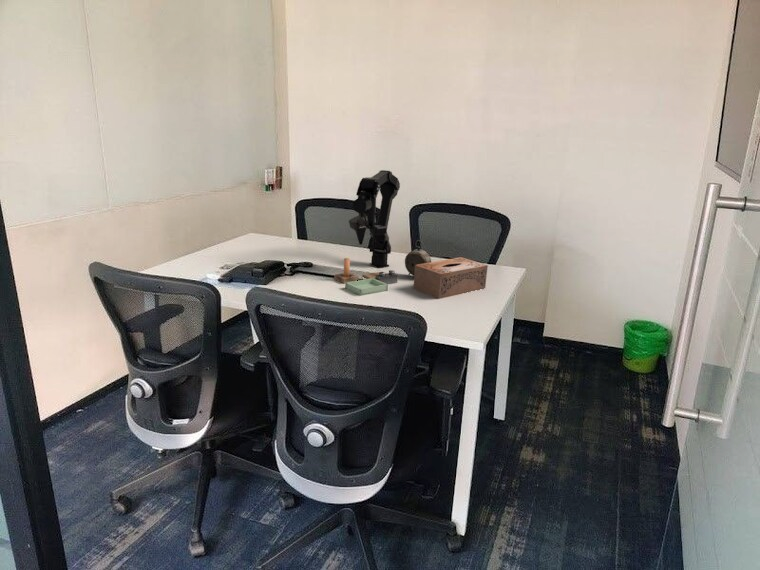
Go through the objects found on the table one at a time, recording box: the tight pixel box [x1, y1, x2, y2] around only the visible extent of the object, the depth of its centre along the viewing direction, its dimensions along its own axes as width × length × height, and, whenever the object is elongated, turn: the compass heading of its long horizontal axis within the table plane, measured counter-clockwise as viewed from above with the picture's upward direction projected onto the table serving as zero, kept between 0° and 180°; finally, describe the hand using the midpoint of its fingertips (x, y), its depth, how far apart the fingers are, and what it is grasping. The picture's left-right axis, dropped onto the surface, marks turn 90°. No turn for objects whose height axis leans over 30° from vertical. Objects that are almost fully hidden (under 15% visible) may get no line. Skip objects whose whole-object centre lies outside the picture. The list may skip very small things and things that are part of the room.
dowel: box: [343, 257, 351, 277], centre depth 229 cm, size 2×2×9 cm
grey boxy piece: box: [375, 270, 399, 285], centre depth 228 cm, size 9×3×5 cm, turn 127°
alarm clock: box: [404, 239, 432, 280], centre depth 236 cm, size 11×5×16 cm, turn 55°
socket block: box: [333, 272, 359, 285], centre depth 230 cm, size 7×7×2 cm
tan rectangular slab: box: [361, 271, 387, 279], centre depth 232 cm, size 10×7×2 cm
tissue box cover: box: [412, 256, 488, 300], centre depth 224 cm, size 26×14×10 cm, turn 128°
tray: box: [345, 278, 389, 297], centre depth 219 cm, size 13×10×2 cm
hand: (367, 246), depth 236 cm, fingers open, 9 cm apart
